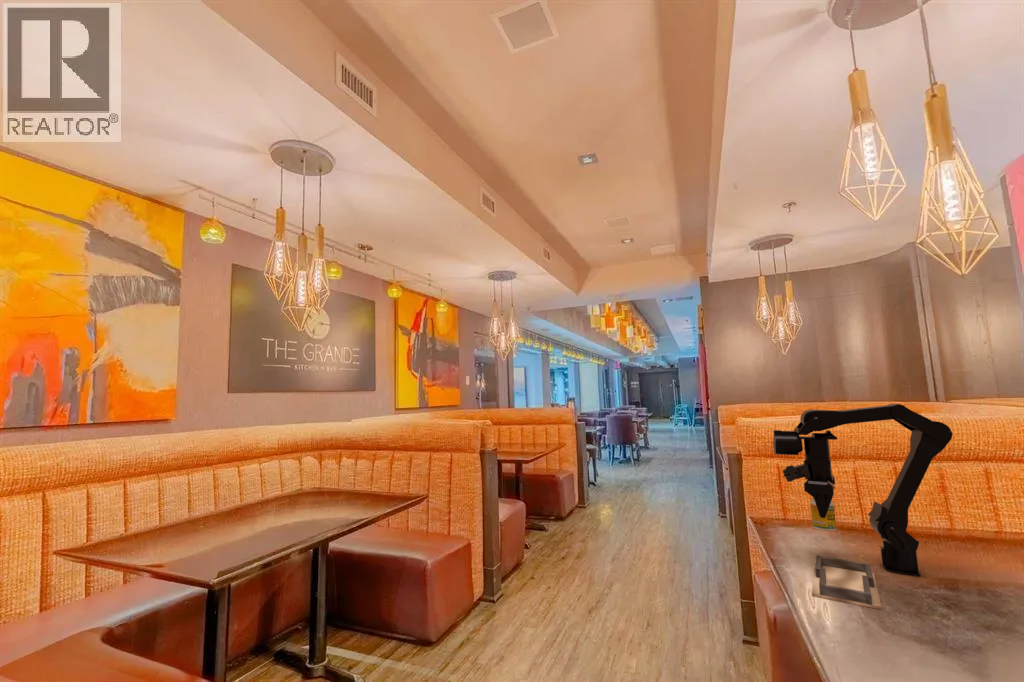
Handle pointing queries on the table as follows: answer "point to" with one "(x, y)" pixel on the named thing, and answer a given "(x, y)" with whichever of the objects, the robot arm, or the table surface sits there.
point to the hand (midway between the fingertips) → (823, 515)
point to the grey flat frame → (845, 582)
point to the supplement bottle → (823, 523)
